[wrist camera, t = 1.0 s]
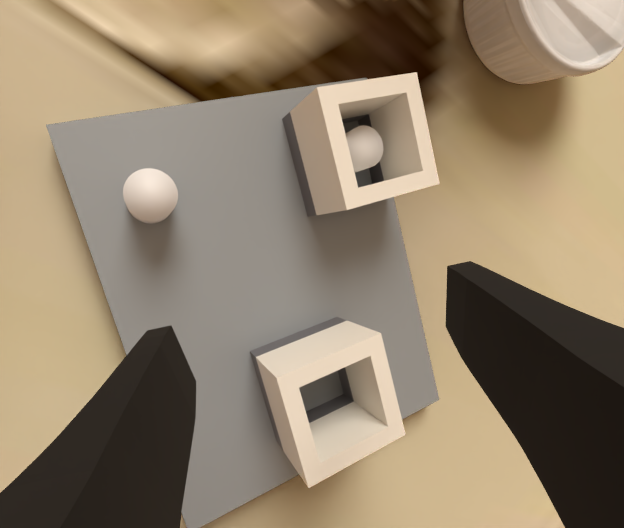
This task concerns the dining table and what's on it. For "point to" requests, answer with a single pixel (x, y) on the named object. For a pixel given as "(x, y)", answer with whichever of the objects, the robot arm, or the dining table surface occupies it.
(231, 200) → the pin board
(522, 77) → the ramekin
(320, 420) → the sleeve
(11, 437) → the dining table surface
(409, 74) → the seated sleeve
